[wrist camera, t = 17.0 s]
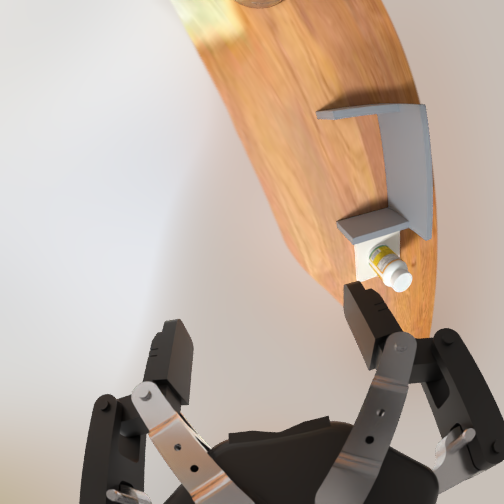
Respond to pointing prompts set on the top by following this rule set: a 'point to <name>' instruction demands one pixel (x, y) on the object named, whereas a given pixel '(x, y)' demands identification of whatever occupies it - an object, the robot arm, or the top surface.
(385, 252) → the supplement bottle
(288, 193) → the top surface
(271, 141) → the top surface
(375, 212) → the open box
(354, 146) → the top surface
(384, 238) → the mat
